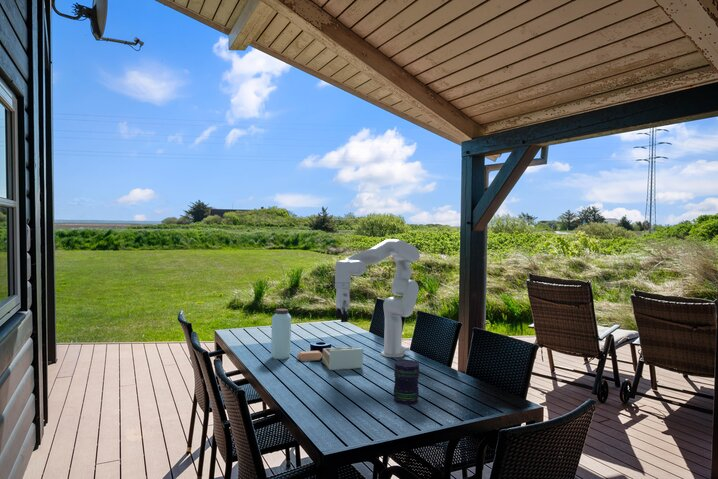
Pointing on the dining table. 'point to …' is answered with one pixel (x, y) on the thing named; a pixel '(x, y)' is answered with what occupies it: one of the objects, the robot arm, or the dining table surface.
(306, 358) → the dome-capped square column
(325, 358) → the crate
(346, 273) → the robot arm
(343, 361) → the tailgate
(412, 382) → the storage jar
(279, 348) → the water bottle
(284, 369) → the dining table surface
